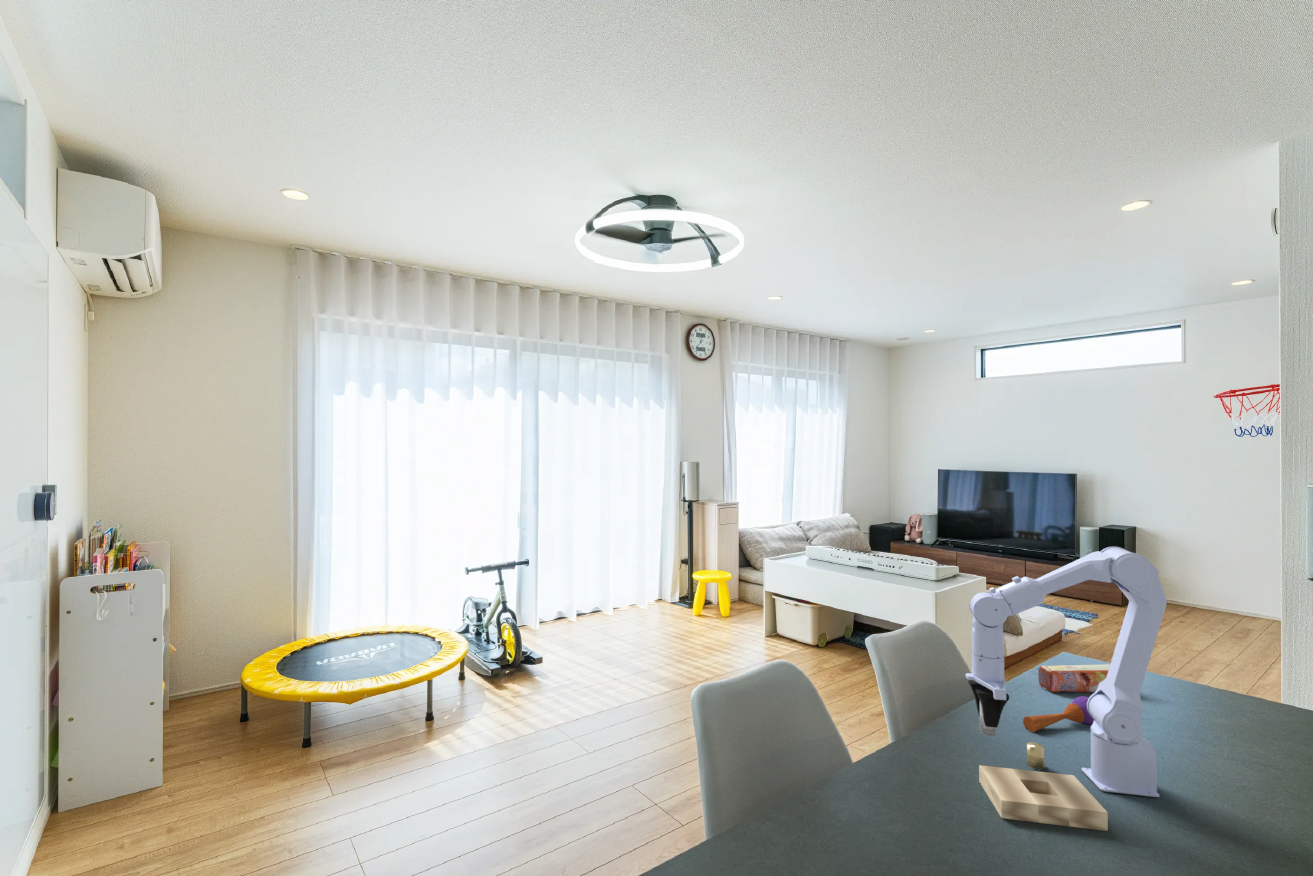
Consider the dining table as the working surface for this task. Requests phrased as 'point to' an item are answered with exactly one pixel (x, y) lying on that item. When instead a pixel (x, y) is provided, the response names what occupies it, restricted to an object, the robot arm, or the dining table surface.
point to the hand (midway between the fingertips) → (988, 722)
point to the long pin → (983, 729)
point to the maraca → (1061, 716)
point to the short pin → (1035, 755)
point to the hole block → (1042, 798)
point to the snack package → (1072, 677)
